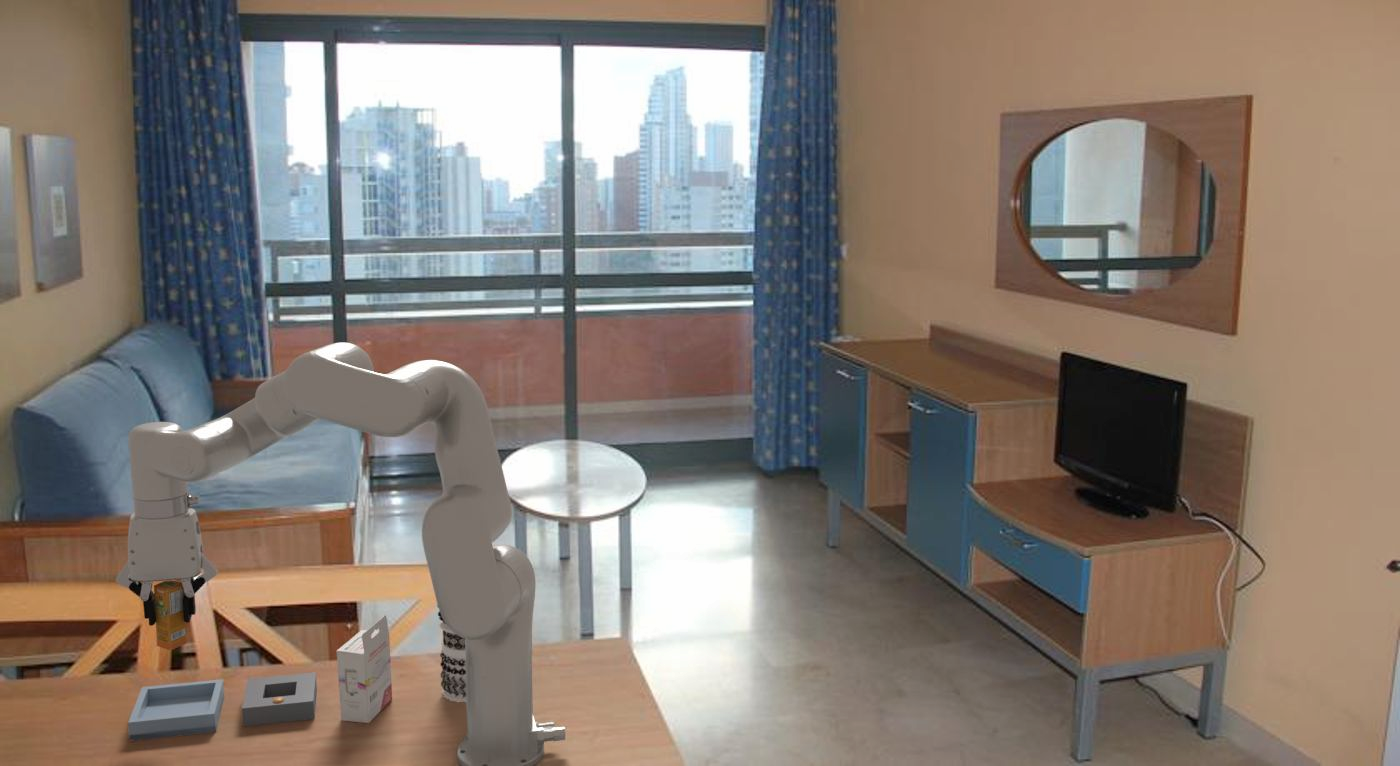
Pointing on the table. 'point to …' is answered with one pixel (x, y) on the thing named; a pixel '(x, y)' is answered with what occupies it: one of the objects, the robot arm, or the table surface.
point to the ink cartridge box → (365, 673)
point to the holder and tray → (220, 705)
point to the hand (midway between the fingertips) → (170, 619)
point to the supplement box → (169, 614)
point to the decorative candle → (452, 664)
